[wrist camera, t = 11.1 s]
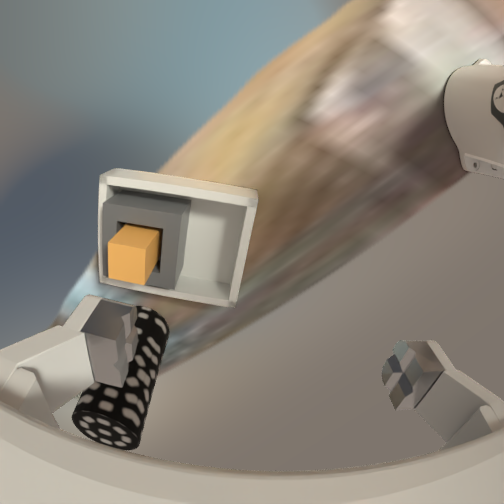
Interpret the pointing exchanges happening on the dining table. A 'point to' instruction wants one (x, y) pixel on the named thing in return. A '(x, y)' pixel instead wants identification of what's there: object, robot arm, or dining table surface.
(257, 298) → the dining table surface
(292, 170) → the dining table surface
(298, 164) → the dining table surface
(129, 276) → the plug
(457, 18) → the dining table surface
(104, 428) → the white-spotted black cylinder
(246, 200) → the bay
